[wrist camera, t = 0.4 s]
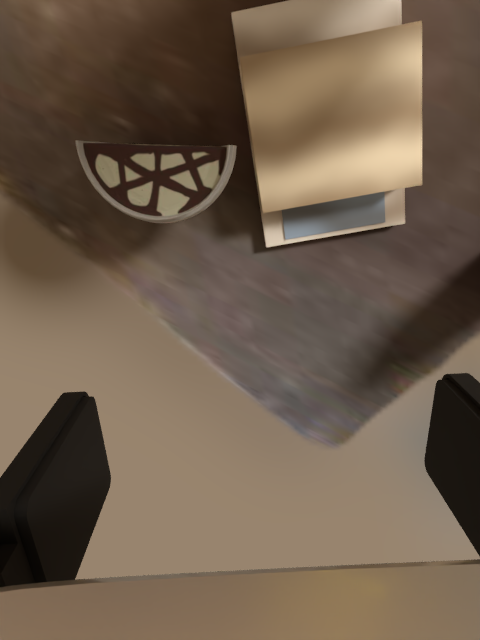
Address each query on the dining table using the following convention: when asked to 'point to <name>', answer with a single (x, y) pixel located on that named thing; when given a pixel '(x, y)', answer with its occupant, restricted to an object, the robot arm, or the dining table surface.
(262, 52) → the build base
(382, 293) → the dining table surface
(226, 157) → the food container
